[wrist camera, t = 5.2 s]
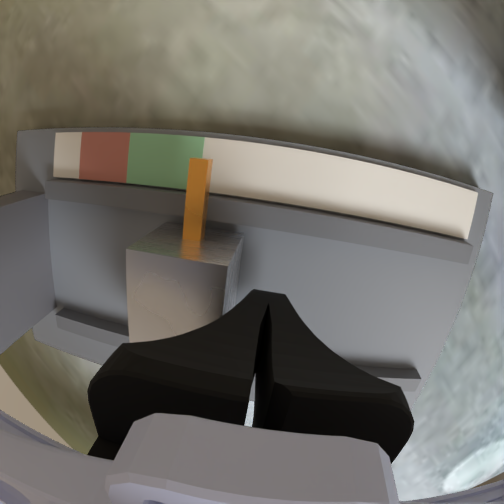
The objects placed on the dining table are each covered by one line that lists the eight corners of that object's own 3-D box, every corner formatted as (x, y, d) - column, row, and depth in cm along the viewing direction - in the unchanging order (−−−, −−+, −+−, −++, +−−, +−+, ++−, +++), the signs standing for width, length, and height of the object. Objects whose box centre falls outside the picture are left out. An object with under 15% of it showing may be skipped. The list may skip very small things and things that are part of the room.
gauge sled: (230, 344, 14) (214, 399, 10) (163, 331, 14) (133, 379, 10) (253, 162, 11) (239, 167, 8) (172, 153, 11) (129, 157, 8)
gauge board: (404, 398, 15) (433, 482, 10) (45, 330, 17) (-15, 386, 11) (479, 188, 12) (571, 220, 6) (32, 130, 13) (-60, 137, 7)
